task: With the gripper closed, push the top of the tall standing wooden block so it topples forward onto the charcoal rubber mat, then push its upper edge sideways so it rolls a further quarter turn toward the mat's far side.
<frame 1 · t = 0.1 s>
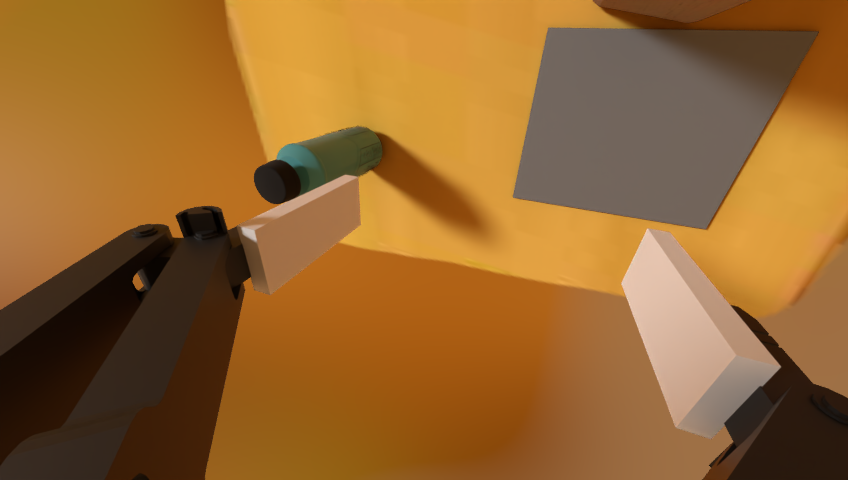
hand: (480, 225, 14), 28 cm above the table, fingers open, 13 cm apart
mat: (630, 132, 33), on the table
beverage bottle: (370, 146, 45), on the table
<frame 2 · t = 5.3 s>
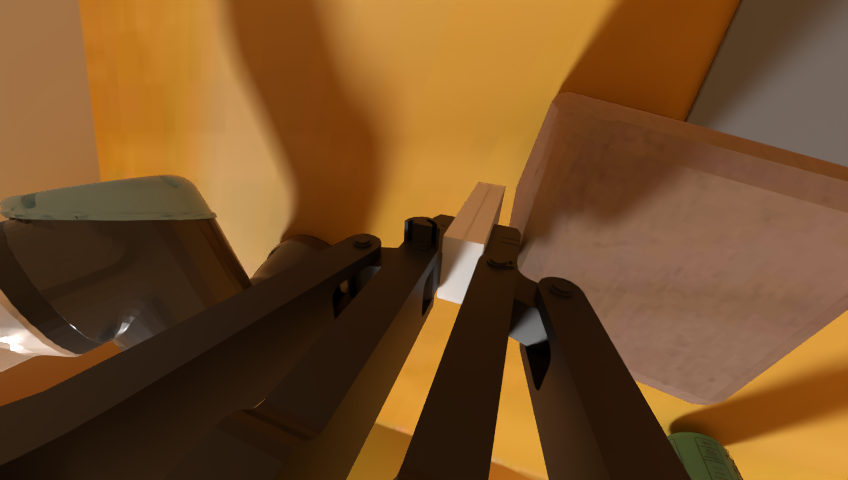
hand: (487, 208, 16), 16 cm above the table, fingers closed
mat: (820, 165, 22), on the table
beverage bottle: (687, 434, 37), on the table
wooden block: (586, 161, 27), on the table, touching gripper
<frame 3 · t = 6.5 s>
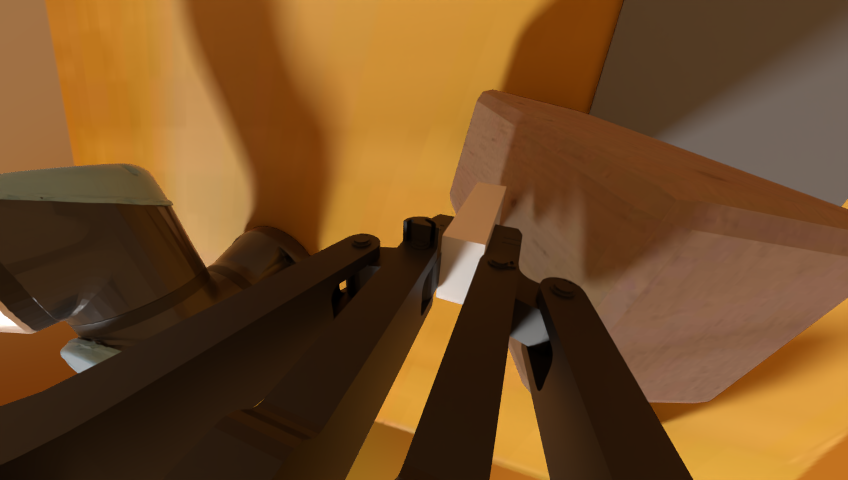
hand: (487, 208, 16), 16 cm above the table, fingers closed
mat: (708, 152, 24), on the table
wooden block: (510, 157, 27), point 2 cm above the table, touching gripper
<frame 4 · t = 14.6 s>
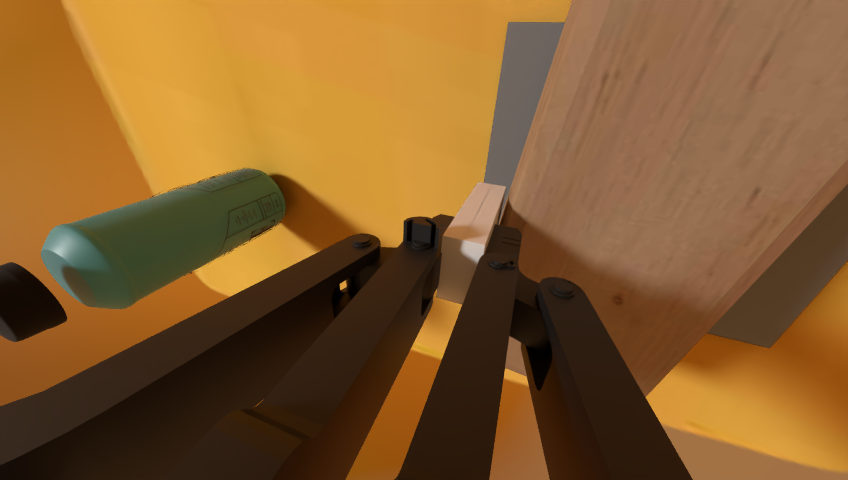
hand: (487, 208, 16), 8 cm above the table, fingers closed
mat: (647, 196, 20), on the table
beverage bottle: (274, 192, 32), on the table
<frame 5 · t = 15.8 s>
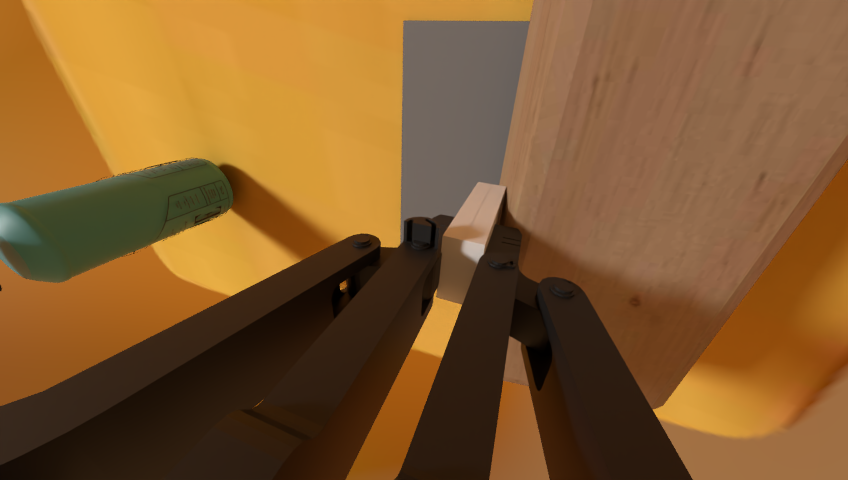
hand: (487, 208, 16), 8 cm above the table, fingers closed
mat: (540, 180, 22), on the table
beverage bottle: (225, 182, 34), on the table
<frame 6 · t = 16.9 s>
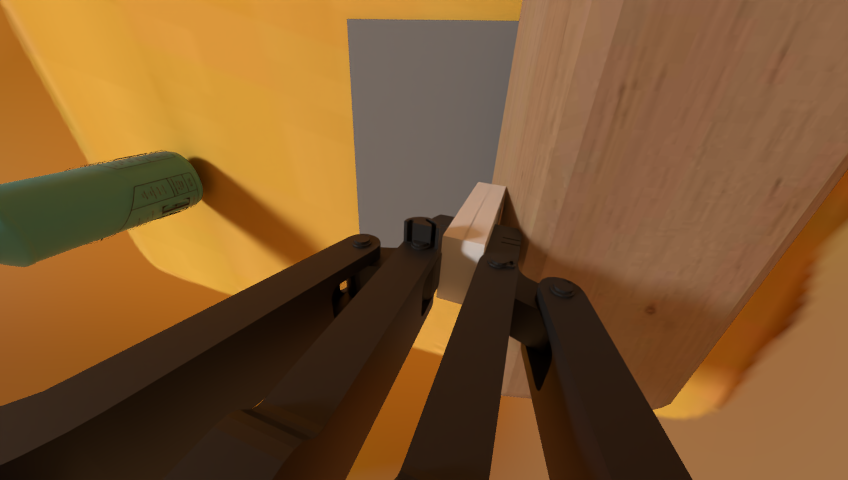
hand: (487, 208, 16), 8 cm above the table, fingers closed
mat: (480, 171, 23), on the table
beverage bottle: (197, 175, 35), on the table
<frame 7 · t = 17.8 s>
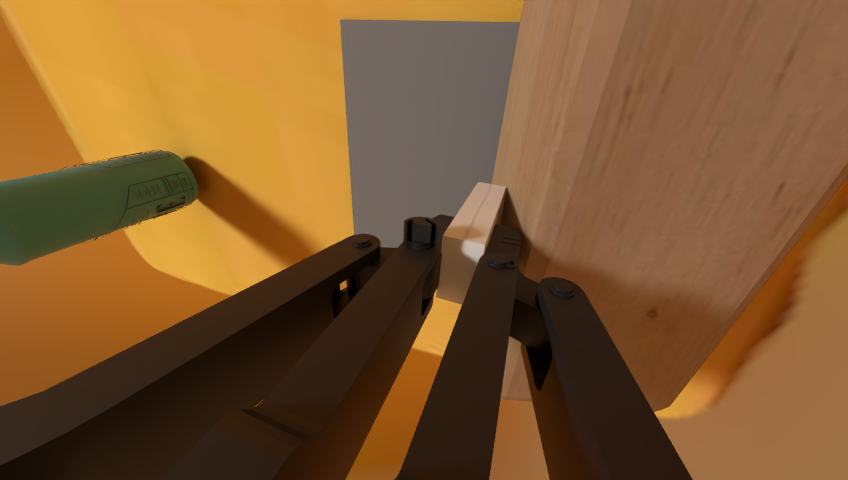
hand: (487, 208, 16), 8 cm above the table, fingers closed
mat: (473, 171, 23), on the table
beverage bottle: (192, 174, 35), on the table
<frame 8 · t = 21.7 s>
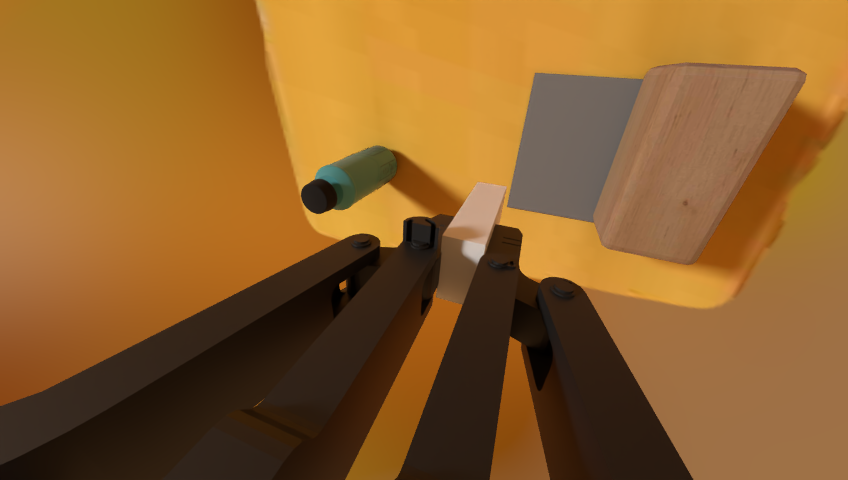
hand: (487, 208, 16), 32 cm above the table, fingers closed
mat: (601, 156, 41), on the table
beverage bottle: (385, 161, 53), on the table
wooden block: (718, 64, 30), point 5 cm above the table, touching mat
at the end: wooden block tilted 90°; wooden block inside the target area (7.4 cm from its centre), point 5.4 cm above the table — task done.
